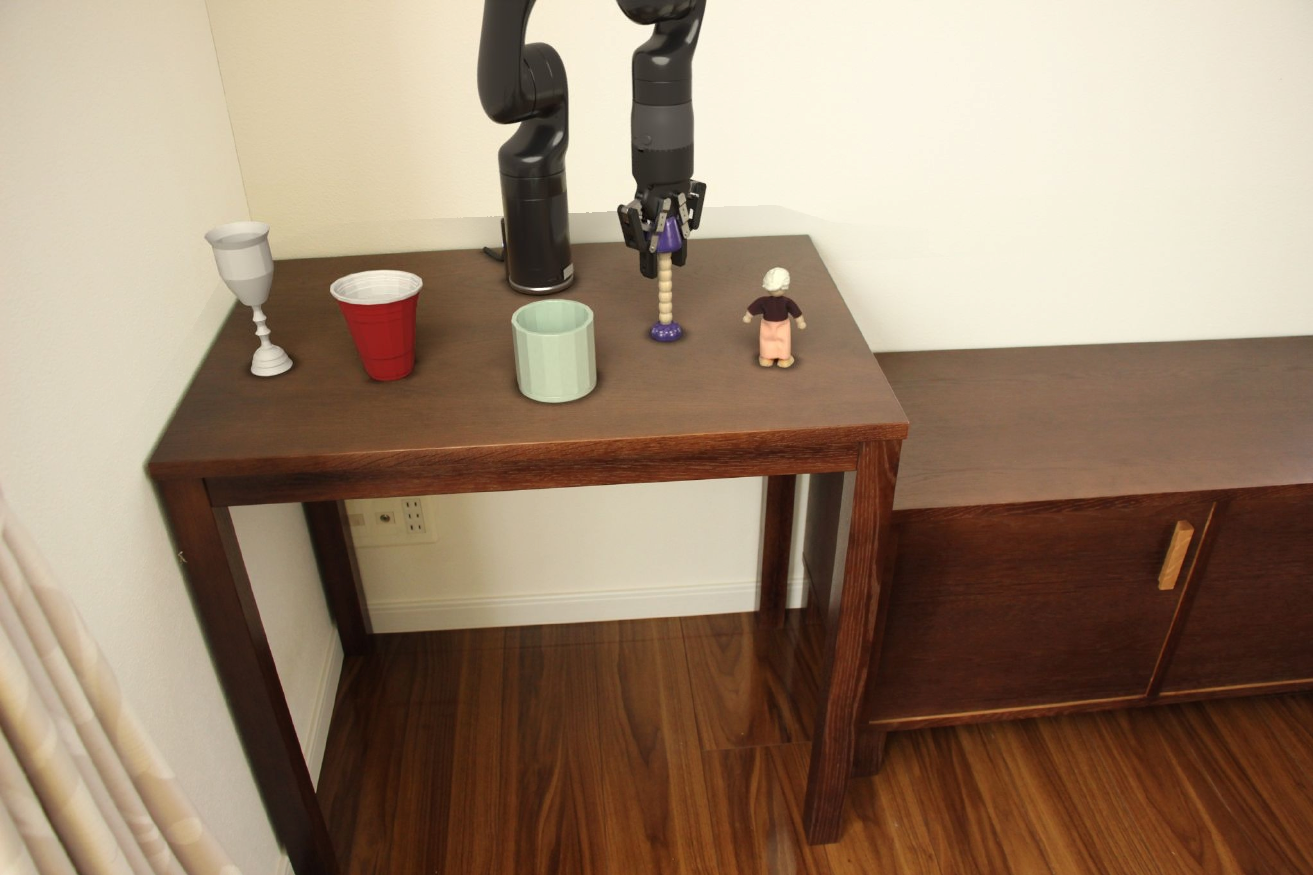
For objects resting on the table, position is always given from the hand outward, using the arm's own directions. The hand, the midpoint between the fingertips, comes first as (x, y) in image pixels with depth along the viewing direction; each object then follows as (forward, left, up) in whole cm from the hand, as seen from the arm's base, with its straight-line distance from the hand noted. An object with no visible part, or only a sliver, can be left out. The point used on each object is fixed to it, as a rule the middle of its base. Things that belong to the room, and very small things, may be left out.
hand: (663, 270), depth 126 cm
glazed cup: (-1, -18, -9) cm, 20 cm away
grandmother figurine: (+15, +4, -10) cm, 18 cm away
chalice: (-31, -40, -10) cm, 51 cm away
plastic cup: (-19, -30, -10) cm, 37 cm away
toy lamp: (0, 0, -10) cm, 10 cm away
